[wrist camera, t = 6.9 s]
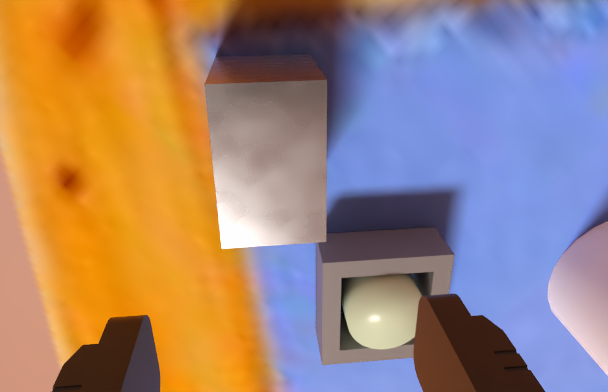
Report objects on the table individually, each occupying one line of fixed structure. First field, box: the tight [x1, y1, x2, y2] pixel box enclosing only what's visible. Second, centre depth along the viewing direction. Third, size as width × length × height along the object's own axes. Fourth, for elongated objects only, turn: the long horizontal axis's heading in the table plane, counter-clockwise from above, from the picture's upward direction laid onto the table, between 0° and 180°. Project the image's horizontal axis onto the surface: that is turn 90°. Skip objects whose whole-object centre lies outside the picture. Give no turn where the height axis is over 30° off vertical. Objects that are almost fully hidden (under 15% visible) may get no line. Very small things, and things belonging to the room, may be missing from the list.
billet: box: [205, 54, 327, 249], centre depth 22 cm, size 4×7×6 cm, turn 1°
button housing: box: [316, 227, 454, 365], centre depth 28 cm, size 7×7×3 cm
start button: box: [341, 273, 422, 349], centre depth 28 cm, size 4×4×3 cm
